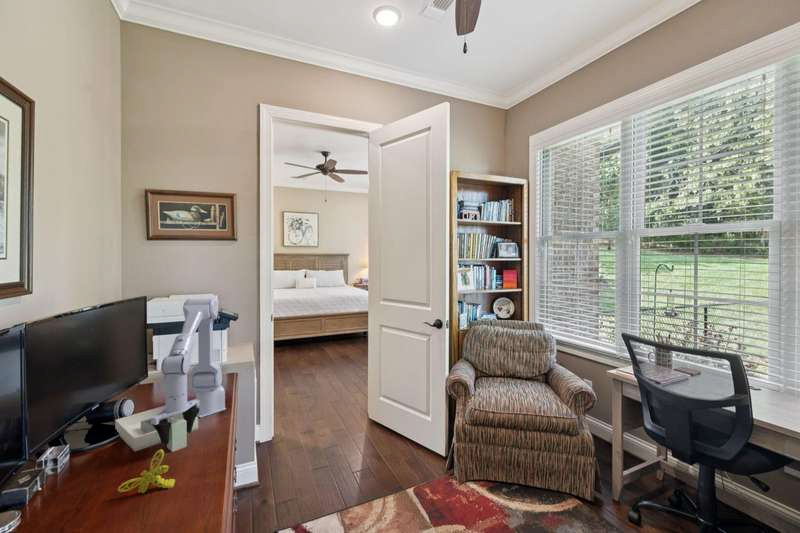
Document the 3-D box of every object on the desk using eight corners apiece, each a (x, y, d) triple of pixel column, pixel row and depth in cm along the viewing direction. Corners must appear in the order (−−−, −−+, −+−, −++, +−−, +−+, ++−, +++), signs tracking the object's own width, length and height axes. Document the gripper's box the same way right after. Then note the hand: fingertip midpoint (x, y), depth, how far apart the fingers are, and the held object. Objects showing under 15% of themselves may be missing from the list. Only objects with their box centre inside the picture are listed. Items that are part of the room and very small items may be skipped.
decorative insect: (146, 513, 88) (115, 491, 85) (150, 505, 91) (119, 483, 88) (188, 472, 91) (159, 450, 89) (190, 466, 94) (162, 444, 92)
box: (175, 413, 133) (174, 402, 133) (198, 429, 121) (198, 417, 121) (115, 431, 119) (115, 419, 119) (134, 451, 107) (134, 438, 107)
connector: (181, 442, 112) (181, 417, 112) (186, 446, 110) (186, 420, 110) (167, 447, 109) (166, 421, 109) (172, 451, 107) (172, 425, 107)
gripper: (188, 384, 117) (188, 425, 118) (143, 401, 104) (144, 446, 104) (204, 387, 115) (204, 428, 115) (160, 404, 101) (161, 451, 102)
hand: (176, 437), depth 110 cm, fingers open, 7 cm apart
